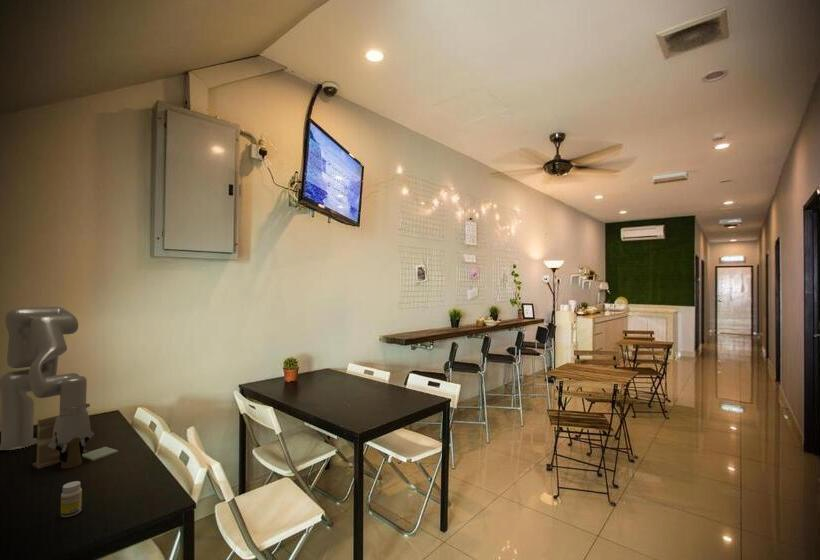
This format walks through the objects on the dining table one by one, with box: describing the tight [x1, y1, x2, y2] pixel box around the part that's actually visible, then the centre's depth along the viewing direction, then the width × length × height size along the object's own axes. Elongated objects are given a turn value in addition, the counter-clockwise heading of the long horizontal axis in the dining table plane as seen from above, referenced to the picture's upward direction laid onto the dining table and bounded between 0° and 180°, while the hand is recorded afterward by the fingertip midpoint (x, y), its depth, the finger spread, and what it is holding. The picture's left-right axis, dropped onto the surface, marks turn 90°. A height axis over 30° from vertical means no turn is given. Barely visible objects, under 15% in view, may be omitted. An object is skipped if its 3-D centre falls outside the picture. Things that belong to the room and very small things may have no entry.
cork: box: [60, 437, 83, 469], centre depth 146 cm, size 6×6×11 cm
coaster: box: [81, 446, 119, 462], centre depth 156 cm, size 9×9×1 cm
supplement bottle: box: [60, 480, 83, 518], centre depth 115 cm, size 5×5×8 cm
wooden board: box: [32, 415, 88, 469], centre depth 151 cm, size 5×15×17 cm, turn 155°
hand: (71, 458), depth 146 cm, fingers closed on cork, 4 cm apart
